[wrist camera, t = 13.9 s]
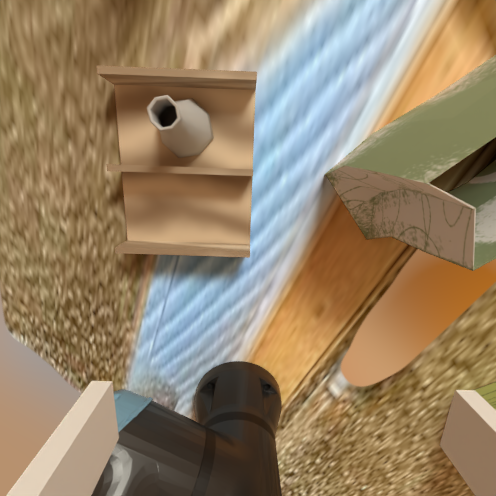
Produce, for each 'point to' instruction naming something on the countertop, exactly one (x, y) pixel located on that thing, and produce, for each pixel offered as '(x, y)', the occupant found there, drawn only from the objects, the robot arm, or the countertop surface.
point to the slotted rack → (185, 163)
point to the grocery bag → (429, 175)
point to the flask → (181, 125)
